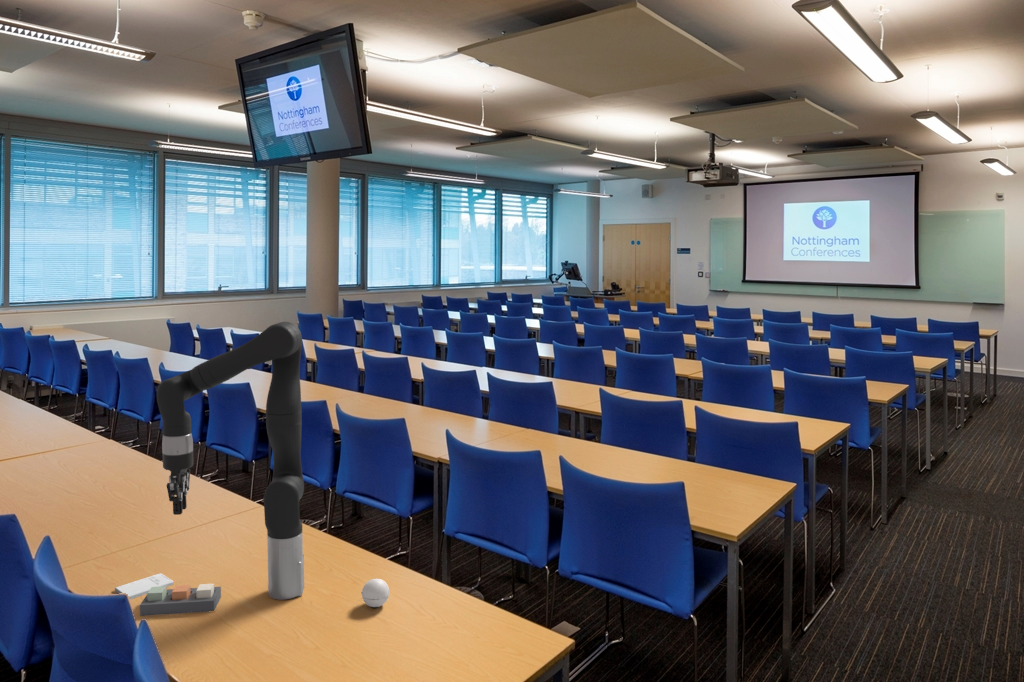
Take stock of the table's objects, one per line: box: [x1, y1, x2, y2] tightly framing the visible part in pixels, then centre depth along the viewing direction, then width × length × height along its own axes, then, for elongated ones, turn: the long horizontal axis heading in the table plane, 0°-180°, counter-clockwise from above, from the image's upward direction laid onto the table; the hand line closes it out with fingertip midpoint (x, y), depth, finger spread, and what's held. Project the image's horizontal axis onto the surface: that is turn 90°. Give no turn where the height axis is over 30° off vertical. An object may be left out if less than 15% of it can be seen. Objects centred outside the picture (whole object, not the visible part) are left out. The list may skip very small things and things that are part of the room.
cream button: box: [196, 583, 215, 598], centre depth 188 cm, size 4×4×3 cm
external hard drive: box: [114, 572, 175, 600], centre depth 197 cm, size 2×8×12 cm
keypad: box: [139, 586, 222, 617], centre depth 187 cm, size 18×8×3 cm, turn 100°
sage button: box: [146, 586, 167, 601], centre depth 185 cm, size 4×4×3 cm
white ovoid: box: [359, 578, 390, 608], centre depth 188 cm, size 10×7×7 cm
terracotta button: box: [172, 584, 191, 600], centre depth 187 cm, size 4×4×3 cm
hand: (180, 511), depth 192 cm, fingers open, 3 cm apart
